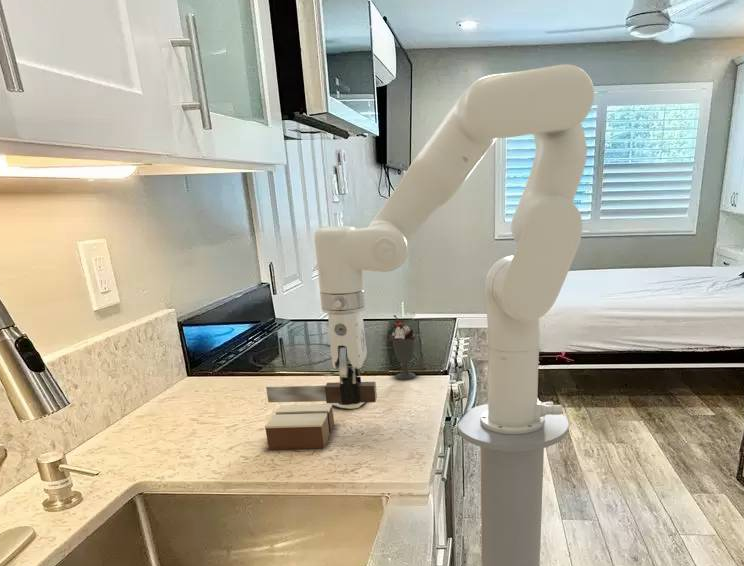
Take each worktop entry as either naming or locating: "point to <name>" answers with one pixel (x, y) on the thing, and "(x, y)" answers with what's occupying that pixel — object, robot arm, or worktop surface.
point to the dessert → (348, 405)
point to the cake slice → (309, 411)
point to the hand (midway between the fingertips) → (352, 399)
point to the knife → (319, 393)
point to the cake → (297, 431)
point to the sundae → (403, 348)
